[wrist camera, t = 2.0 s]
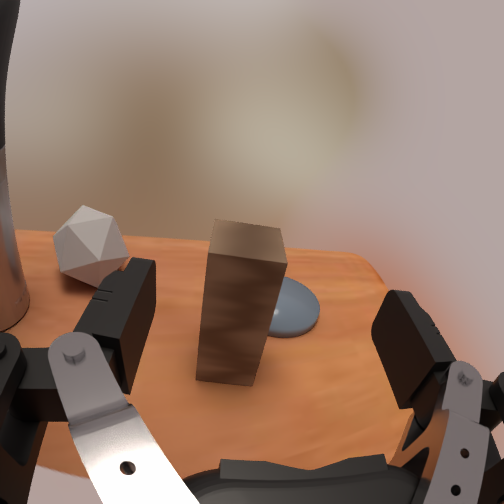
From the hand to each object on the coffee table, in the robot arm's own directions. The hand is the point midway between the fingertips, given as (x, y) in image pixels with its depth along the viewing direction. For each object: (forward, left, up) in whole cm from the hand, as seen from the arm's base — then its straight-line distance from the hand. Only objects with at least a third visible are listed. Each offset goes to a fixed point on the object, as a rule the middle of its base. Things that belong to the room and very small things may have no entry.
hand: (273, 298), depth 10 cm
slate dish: (+11, +18, -17) cm, 27 cm away
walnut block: (+3, +11, -17) cm, 20 cm away
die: (-10, +26, -17) cm, 32 cm away
